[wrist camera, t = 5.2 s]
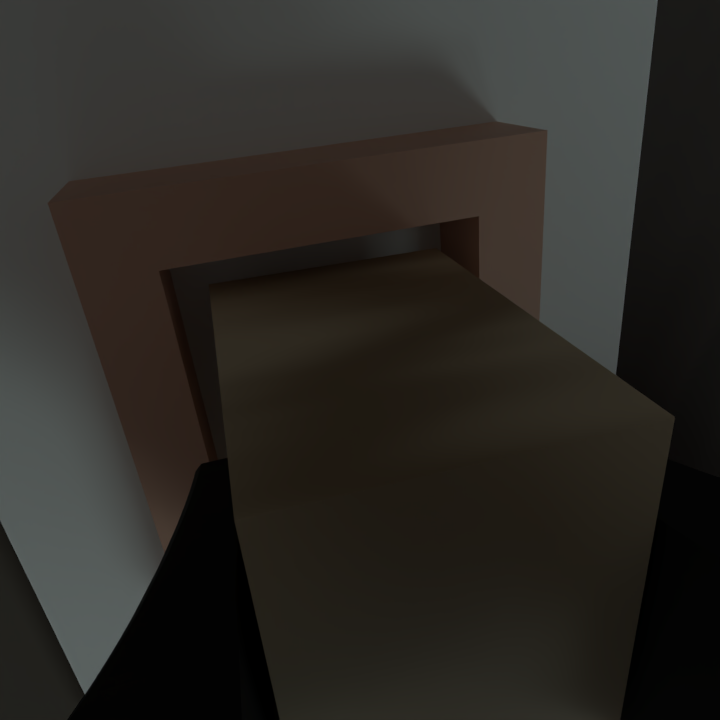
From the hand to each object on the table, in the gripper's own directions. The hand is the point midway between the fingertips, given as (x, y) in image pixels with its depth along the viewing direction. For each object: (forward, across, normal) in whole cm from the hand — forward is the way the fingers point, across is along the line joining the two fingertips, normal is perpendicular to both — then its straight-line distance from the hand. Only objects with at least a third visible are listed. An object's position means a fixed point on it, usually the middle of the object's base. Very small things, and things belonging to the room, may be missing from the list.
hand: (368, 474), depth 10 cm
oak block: (+2, 0, 0) cm, 2 cm away
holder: (+4, 0, 0) cm, 4 cm away
